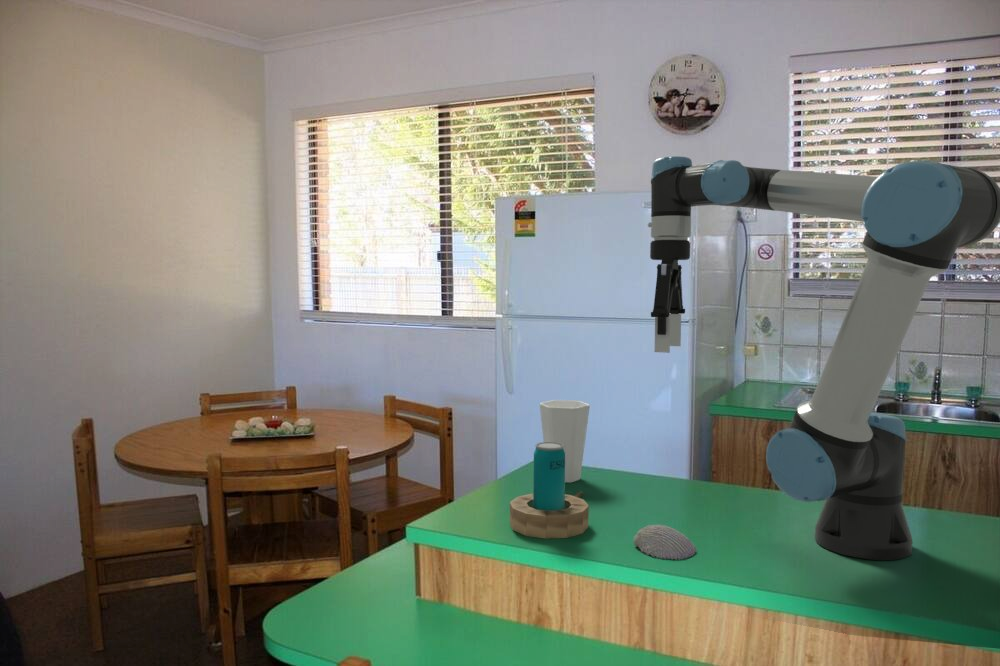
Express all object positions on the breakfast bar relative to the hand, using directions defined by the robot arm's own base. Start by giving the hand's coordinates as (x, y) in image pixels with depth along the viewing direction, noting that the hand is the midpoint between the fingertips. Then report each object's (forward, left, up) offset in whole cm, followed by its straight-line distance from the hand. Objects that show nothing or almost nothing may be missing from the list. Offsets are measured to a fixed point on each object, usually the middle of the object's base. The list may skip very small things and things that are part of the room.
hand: (668, 349), depth 150 cm
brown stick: (+18, +5, -32) cm, 37 cm away
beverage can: (+18, +19, -32) cm, 41 cm away
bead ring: (+18, +19, -32) cm, 41 cm away
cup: (+25, -13, -32) cm, 43 cm away
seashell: (-4, +22, -32) cm, 39 cm away
